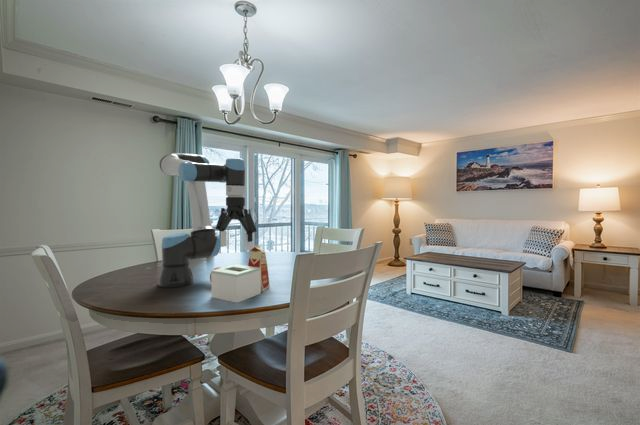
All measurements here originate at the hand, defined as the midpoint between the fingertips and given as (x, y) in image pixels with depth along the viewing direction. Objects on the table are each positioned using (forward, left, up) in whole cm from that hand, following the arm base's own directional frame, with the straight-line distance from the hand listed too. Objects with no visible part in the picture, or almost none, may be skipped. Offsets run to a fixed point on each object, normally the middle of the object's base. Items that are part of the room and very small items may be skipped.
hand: (235, 248), depth 138 cm
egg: (-18, +7, -20) cm, 28 cm away
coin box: (0, 0, -20) cm, 20 cm away
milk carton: (0, +13, -20) cm, 24 cm away
